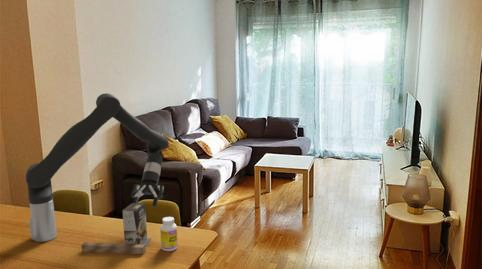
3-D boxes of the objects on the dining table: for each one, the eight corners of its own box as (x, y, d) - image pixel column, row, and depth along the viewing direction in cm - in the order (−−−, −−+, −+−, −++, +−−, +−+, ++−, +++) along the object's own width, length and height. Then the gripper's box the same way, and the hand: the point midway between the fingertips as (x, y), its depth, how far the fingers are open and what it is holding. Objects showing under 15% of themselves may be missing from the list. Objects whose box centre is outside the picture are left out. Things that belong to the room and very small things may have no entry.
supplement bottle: (169, 253, 159) (168, 223, 157) (158, 249, 163) (156, 219, 161) (181, 246, 165) (179, 217, 162) (169, 242, 169) (168, 214, 166)
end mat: (121, 249, 163) (121, 248, 163) (130, 238, 173) (130, 237, 173) (142, 250, 162) (142, 249, 162) (150, 239, 172) (150, 238, 172)
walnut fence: (82, 251, 162) (81, 245, 161) (84, 249, 164) (84, 242, 164) (143, 254, 159) (142, 247, 158) (145, 251, 161) (145, 244, 161)
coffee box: (138, 248, 163) (136, 211, 160) (124, 247, 164) (121, 210, 161) (148, 238, 172) (145, 203, 169) (134, 237, 173) (131, 202, 170)
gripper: (134, 169, 183) (126, 202, 174) (164, 170, 181) (157, 203, 173) (139, 177, 189) (132, 209, 180) (168, 178, 188) (162, 210, 179)
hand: (144, 206), depth 176 cm, fingers open, 8 cm apart
